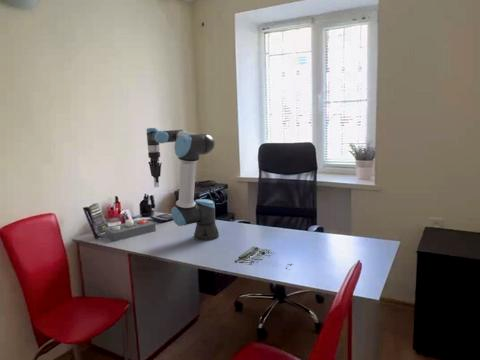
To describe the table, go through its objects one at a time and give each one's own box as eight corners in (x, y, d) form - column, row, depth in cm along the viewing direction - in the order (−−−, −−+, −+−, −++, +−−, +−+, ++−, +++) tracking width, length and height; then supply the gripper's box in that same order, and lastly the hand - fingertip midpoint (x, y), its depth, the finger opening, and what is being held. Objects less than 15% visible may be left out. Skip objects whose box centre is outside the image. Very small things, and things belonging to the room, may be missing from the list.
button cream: (135, 227, 242) (134, 220, 241) (127, 228, 239) (127, 222, 238) (131, 225, 246) (131, 219, 245) (124, 227, 242) (123, 220, 242)
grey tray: (155, 230, 246) (155, 223, 245) (114, 241, 228) (113, 233, 227) (144, 226, 258) (143, 218, 257) (104, 235, 240) (103, 228, 239)
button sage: (122, 233, 237) (121, 226, 236) (114, 235, 233) (113, 228, 232) (118, 232, 240) (118, 225, 239) (111, 233, 237) (110, 227, 236)
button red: (148, 227, 248) (147, 220, 247) (141, 229, 245) (140, 222, 244) (144, 225, 252) (143, 219, 251) (137, 227, 249) (137, 221, 248)
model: (290, 272, 177) (290, 269, 177) (234, 262, 191) (234, 259, 190) (304, 257, 196) (304, 254, 195) (252, 249, 209) (252, 246, 209)
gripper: (164, 151, 244) (166, 187, 247) (153, 150, 253) (156, 185, 257) (154, 152, 239) (156, 189, 242) (143, 151, 248) (146, 186, 252)
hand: (156, 187), depth 250 cm, fingers closed
